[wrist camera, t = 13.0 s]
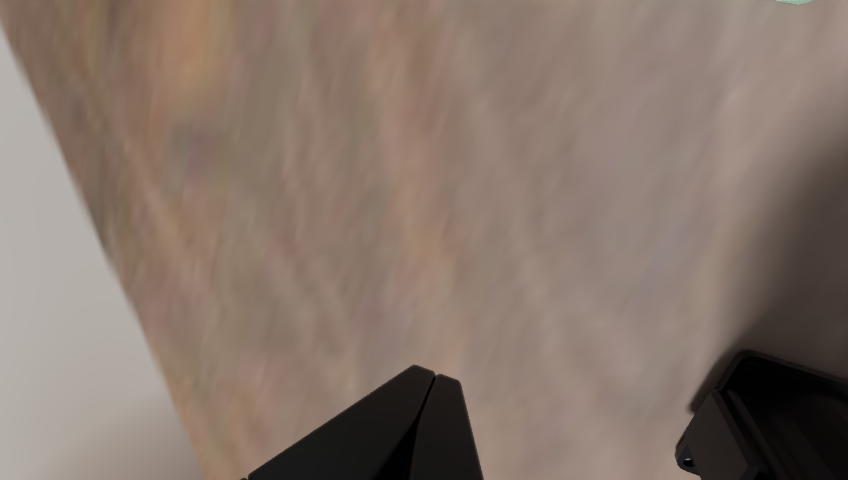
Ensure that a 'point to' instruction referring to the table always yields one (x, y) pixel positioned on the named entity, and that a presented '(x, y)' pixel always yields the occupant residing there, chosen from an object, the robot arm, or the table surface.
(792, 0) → the board
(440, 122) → the table surface
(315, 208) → the table surface
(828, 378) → the robot arm
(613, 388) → the table surface
